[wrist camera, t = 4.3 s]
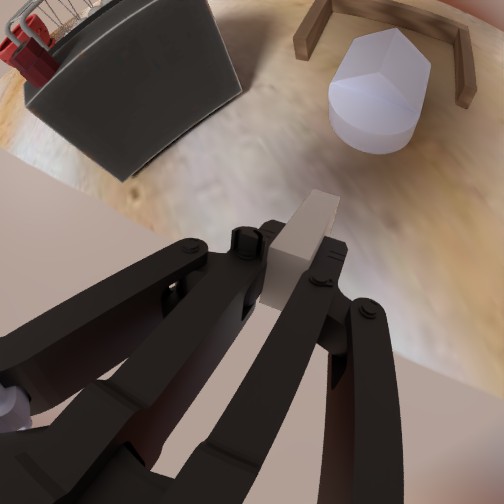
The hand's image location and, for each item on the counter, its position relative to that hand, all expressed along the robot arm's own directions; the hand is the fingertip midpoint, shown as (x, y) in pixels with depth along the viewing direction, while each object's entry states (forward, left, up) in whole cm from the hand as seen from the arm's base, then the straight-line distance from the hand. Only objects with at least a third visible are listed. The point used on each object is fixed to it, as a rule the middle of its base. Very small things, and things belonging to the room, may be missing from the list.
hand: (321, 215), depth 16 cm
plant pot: (+74, -25, -10) cm, 79 cm away
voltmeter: (+24, -11, -10) cm, 28 cm away
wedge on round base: (-1, -17, -10) cm, 20 cm away
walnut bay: (-1, -28, -9) cm, 30 cm away
